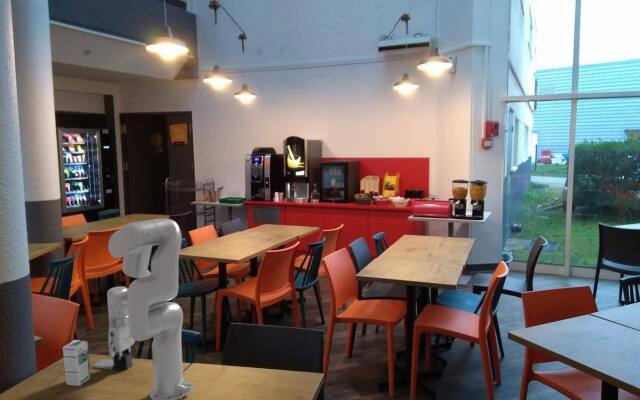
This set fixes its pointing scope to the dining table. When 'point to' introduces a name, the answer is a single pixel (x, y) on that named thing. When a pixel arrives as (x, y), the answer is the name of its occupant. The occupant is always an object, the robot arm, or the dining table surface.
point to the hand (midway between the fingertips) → (123, 365)
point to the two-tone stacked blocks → (111, 363)
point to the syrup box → (76, 362)
